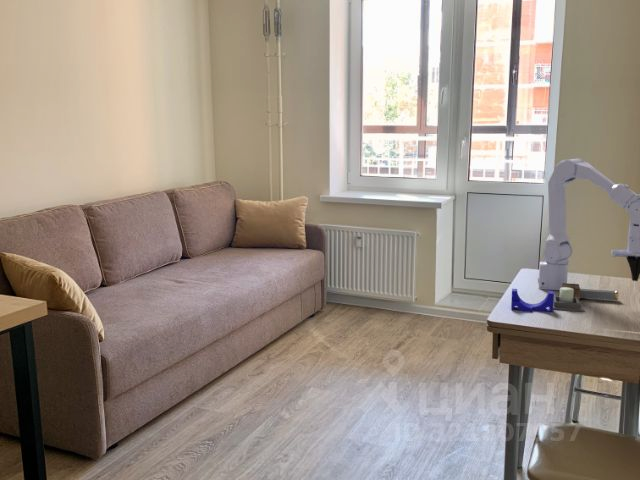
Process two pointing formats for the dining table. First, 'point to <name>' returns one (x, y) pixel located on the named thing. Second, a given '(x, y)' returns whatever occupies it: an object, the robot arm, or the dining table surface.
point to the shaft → (599, 294)
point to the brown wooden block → (576, 289)
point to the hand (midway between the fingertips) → (634, 280)
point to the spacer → (566, 295)
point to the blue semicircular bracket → (532, 307)
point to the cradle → (568, 305)
